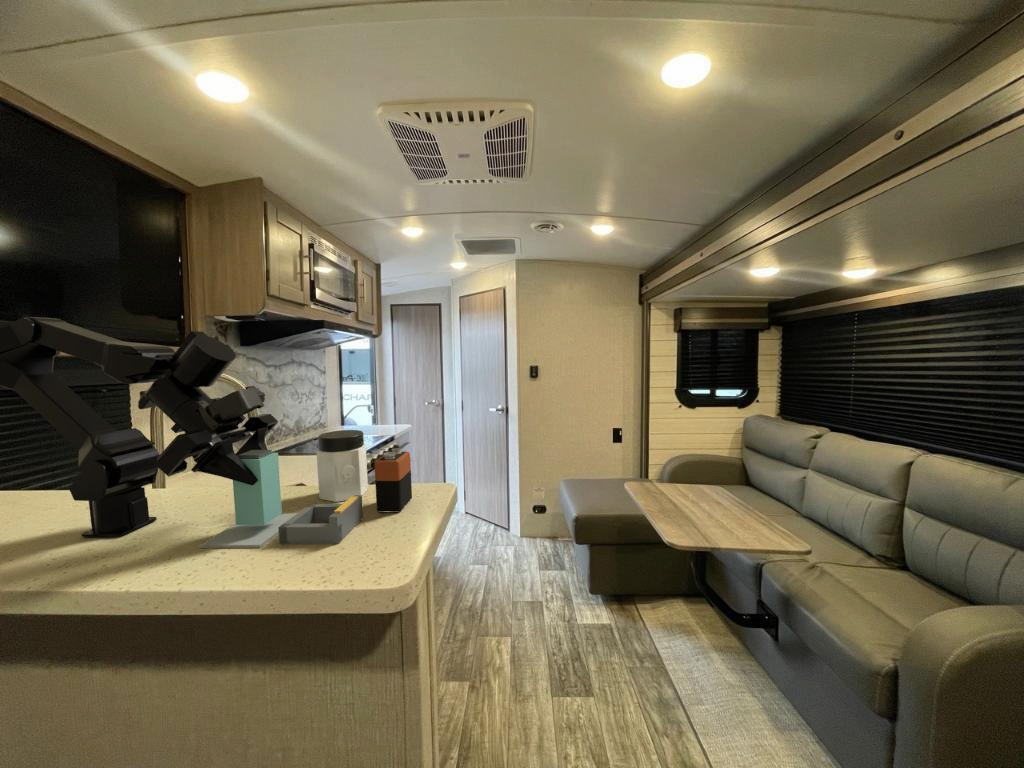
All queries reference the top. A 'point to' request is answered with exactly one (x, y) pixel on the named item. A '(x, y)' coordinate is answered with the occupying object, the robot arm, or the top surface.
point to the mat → (247, 534)
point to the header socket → (328, 533)
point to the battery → (393, 480)
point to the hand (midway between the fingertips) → (265, 477)
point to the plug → (258, 489)
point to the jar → (341, 465)
